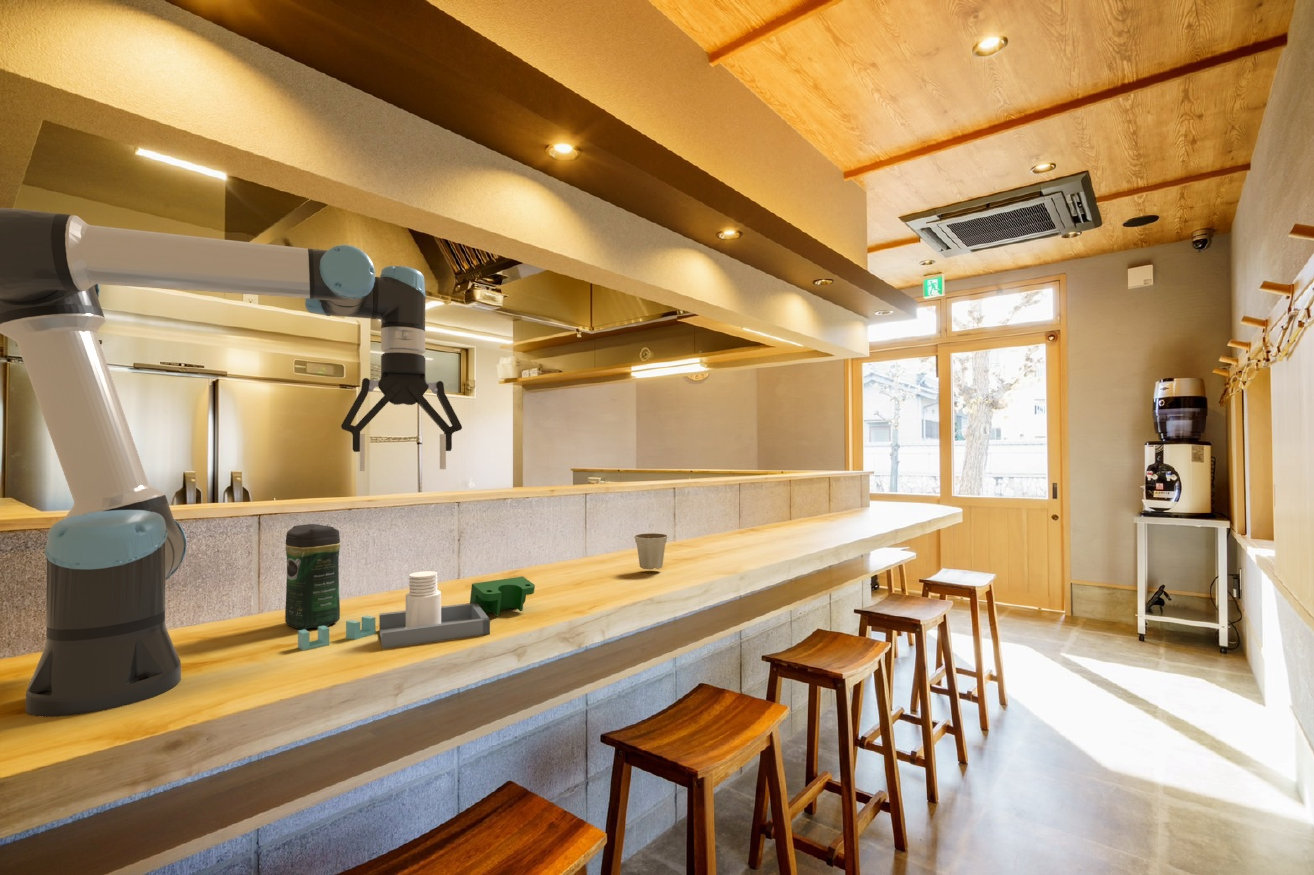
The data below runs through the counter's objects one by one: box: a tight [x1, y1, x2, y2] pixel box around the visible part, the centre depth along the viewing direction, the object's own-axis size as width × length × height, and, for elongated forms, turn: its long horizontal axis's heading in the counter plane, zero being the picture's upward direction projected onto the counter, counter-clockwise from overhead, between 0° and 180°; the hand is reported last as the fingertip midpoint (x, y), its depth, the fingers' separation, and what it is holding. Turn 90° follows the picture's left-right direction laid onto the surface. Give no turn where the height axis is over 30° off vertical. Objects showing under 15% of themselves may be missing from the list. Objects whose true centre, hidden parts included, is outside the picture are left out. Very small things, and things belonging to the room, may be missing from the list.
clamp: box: [469, 576, 536, 616], centre depth 121 cm, size 12×6×9 cm, turn 127°
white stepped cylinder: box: [405, 570, 442, 628], centre depth 107 cm, size 8×7×10 cm
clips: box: [297, 615, 377, 651], centre depth 103 cm, size 12×3×3 cm, turn 141°
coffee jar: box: [284, 523, 341, 630], centre depth 114 cm, size 10×8×19 cm
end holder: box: [378, 602, 491, 650], centre depth 108 cm, size 17×13×3 cm
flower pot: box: [633, 532, 669, 570], centre depth 165 cm, size 9×9×9 cm
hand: (403, 470), depth 111 cm, fingers open, 13 cm apart
